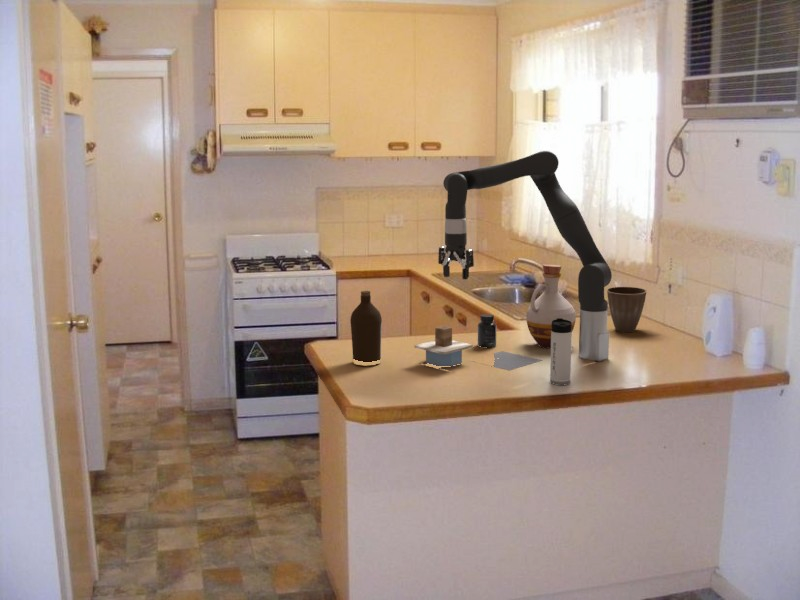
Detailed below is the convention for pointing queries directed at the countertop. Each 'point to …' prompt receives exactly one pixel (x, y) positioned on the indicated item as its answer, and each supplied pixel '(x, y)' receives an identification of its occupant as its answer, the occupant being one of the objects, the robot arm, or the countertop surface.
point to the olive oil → (366, 330)
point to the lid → (443, 342)
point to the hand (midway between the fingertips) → (455, 278)
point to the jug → (548, 307)
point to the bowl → (444, 358)
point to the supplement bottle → (487, 331)
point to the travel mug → (560, 351)
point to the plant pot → (626, 307)
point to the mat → (512, 360)
